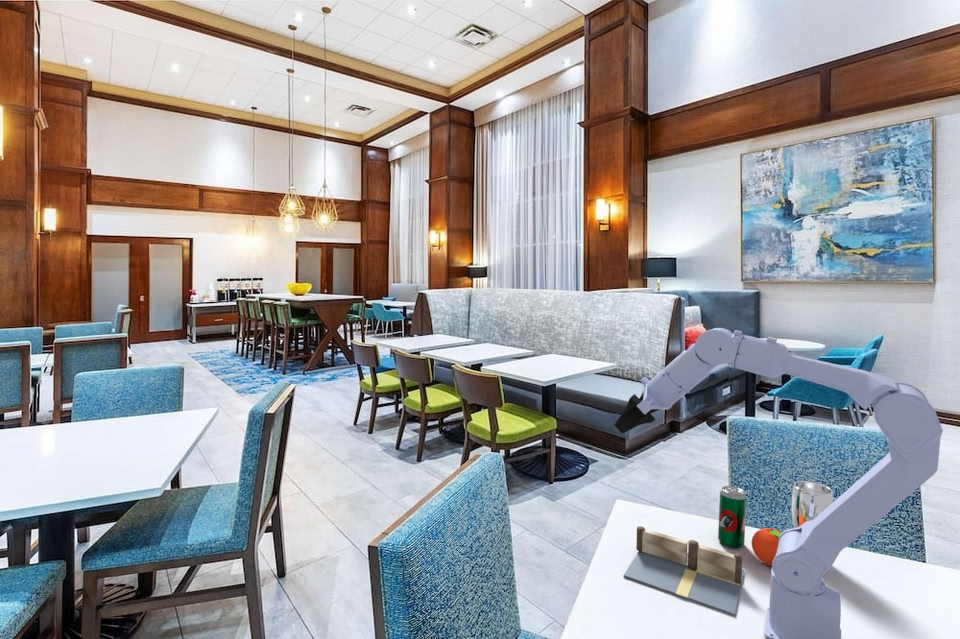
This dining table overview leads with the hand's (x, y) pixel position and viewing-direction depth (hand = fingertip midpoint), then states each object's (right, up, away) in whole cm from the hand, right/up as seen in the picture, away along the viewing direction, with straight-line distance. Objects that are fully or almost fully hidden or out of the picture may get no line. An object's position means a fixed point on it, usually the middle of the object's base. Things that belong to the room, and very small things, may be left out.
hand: (625, 423), depth 92 cm
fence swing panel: (+9, -28, +5) cm, 30 cm away
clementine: (+31, -29, +3) cm, 43 cm away
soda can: (+26, -29, +11) cm, 41 cm away
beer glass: (+40, -29, +6) cm, 50 cm away
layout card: (+12, -29, 0) cm, 32 cm away
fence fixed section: (+17, -29, 0) cm, 34 cm away
